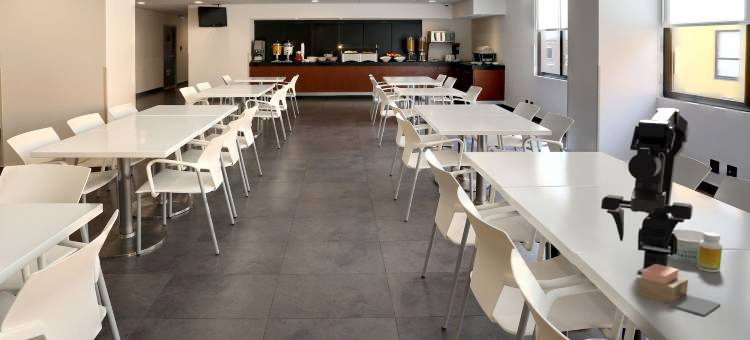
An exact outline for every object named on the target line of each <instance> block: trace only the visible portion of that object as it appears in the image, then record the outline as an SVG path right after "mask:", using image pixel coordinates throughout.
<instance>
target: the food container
mask: <svg viewBox="0 0 750 340" xmlns="http://www.w3.org/2000/svg"><path fill="white" fill-rule="evenodd" d="M673 232H675V235H676V237H677V242H678V248H677V254H673V256H672V255H669V257H671V259H673V260H677V261H680V262H684V263H685V262H686V263H694V264H697V263H698V254H699V244H700V242H701V241H702V240H704V239H703V234H704V233H705V232H704V231H700V230H695V229H685V228H684V229H683V228H674V230H673ZM669 248H671V247H669Z"/></svg>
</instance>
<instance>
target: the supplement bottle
mask: <svg viewBox="0 0 750 340" xmlns="http://www.w3.org/2000/svg"><path fill="white" fill-rule="evenodd" d="M703 239H704V240H702V241H701V242H700V244H699V254H698V263H696V264H697V269H698V270H700V271H703V272H707V273H717V272H719V271H720V270H721V262H722V252H723V244H722V242H720V240H721V234H720V233H717V232H713V231H711V232H710V231H706V232H704V234H703Z"/></svg>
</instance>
